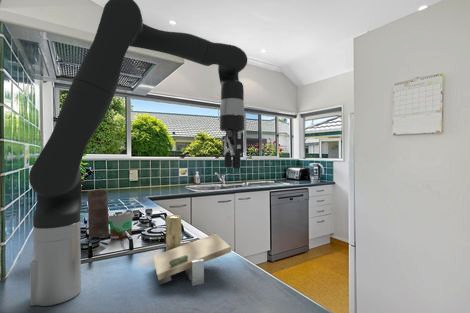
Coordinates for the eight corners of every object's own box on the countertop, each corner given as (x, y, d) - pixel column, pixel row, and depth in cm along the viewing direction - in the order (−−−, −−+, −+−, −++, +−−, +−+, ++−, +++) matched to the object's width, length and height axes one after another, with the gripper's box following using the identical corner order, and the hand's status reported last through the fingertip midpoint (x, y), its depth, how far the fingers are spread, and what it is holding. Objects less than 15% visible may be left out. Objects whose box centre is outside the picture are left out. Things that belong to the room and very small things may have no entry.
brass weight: (167, 254, 86) (166, 219, 86) (165, 249, 91) (165, 215, 91) (182, 252, 88) (182, 217, 88) (180, 247, 93) (179, 214, 93)
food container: (122, 242, 99) (122, 216, 99) (108, 241, 100) (108, 216, 100) (140, 233, 111) (140, 210, 111) (127, 232, 112) (127, 209, 112)
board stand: (192, 285, 65) (192, 262, 65) (180, 261, 80) (180, 242, 80) (203, 283, 66) (203, 260, 66) (189, 259, 82) (189, 240, 82)
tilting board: (159, 284, 64) (155, 269, 63) (154, 264, 76) (151, 251, 75) (232, 255, 71) (229, 241, 71) (217, 241, 83) (214, 229, 83)
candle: (90, 241, 100) (89, 190, 100) (86, 237, 105) (85, 188, 105) (111, 237, 105) (110, 188, 105) (106, 233, 111) (105, 187, 110)
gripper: (214, 118, 85) (214, 167, 85) (227, 110, 71) (226, 168, 71) (236, 119, 87) (236, 167, 87) (252, 112, 74) (251, 168, 73)
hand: (231, 167), depth 79 cm, fingers open, 8 cm apart
